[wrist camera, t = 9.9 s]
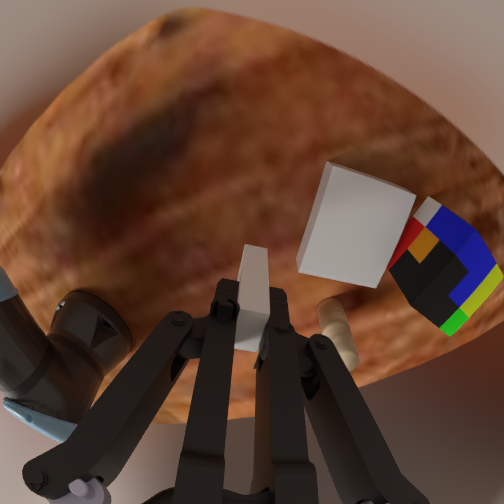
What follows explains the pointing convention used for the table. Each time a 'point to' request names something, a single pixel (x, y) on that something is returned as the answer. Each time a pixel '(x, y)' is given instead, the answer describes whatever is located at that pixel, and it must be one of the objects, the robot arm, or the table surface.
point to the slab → (353, 226)
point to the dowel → (338, 330)
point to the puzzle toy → (443, 266)
